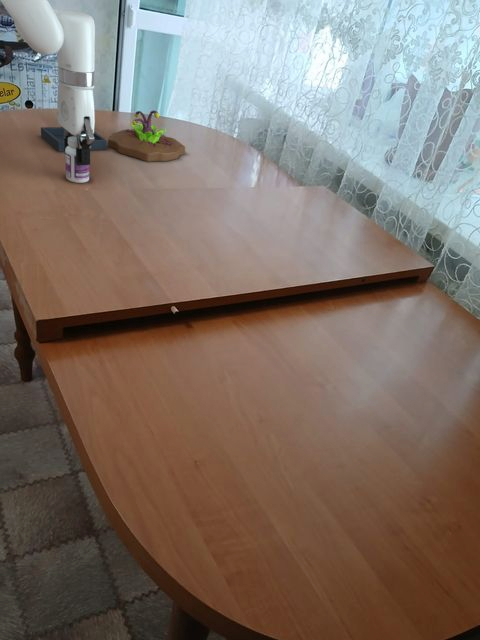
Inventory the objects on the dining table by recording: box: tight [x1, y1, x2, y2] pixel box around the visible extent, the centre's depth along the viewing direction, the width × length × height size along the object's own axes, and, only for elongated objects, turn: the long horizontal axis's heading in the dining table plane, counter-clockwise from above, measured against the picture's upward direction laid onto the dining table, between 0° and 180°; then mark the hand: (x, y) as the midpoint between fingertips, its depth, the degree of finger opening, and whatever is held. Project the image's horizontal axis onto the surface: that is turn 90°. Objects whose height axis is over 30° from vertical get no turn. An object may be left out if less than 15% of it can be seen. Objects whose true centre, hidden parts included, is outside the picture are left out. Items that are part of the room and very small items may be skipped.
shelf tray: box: [40, 126, 108, 153], centre depth 150 cm, size 14×12×3 cm
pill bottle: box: [64, 136, 90, 184], centre depth 129 cm, size 5×5×10 cm
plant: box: [107, 110, 186, 162], centre depth 155 cm, size 20×20×11 cm
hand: (77, 159), depth 129 cm, fingers closed on pill bottle, 5 cm apart
